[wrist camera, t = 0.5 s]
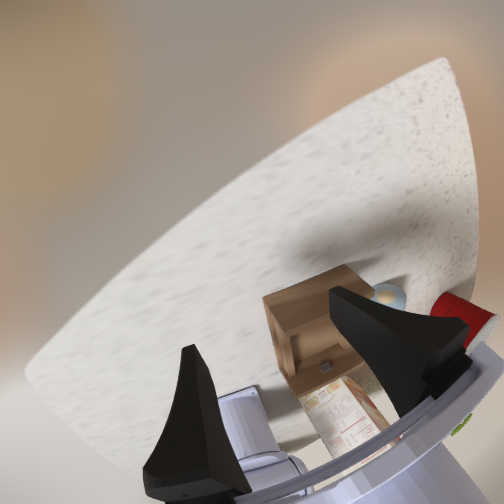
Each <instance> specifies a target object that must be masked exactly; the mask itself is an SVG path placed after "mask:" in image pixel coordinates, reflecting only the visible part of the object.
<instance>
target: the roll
mask: <svg viewBox="0 0 504 504" xmlns="http://www.w3.org/2000/svg"><path fill="white" fill-rule="evenodd" d="M372 288H374V289H375V294H374V297H372V298H370V300H373V301H375V302H378V303H380V304H383V305H386V306H389V307H392V308H395V309H398V310H402V311H404V309H405V304H406V294H405V292H404V291H403V290H402V289H401V288H399V287H398V286H396V285H393V284H387V283H383V284H377V285H375V286H373V287H372Z"/></svg>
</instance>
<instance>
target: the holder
mask: <svg viewBox="0 0 504 504" xmlns="http://www.w3.org/2000/svg"><path fill="white" fill-rule="evenodd" d="M338 285H339V286H341V287H343V288H346V289H348V290H350V291H352V292H354V293H357V294H359V295H361V296H363V297H366V298H368V299H370V298H372V297H374V294H375V289H374V288H372V287H371V286H370V285H369V284H368V283H366V282H365V281H364V280H363V279H362V278H360V277H359V276H358V275H357V274H355V273H354V272H353V271H352V270H351V269H349V268H348V267H347V266H346V265H344V264H343V265H341V266H339V267H336V268H334V269H332V270H329V271H327V272H325V273H322V274H320V275H318V276H315V277H313V278H310V279H308V280H305V281H303V282H300V283H298V284H296V285H293V286H291V287H288V288H286V289H283V290H281V291H278V292H275V293H273V294H270V295H268V296H265V297H263V298H262V299H263V303H264V307H265V311H266V315H267V320H268V324H269V328H270V332H271V336H272V340H273V345H274V349H275V353H276V357H277V361H278V365H279V369H280V371H281V373H282V375H283V376H284V378H285V380H286V382H287V384H288V385H289V387H290V389H291V391H292V392H293V394H294V396H295V398H296V399H299V398H301V397H303V396H305V395H307V394H310V393H312V392H314V391H316V390H318V389H320V388H322V387H324V386H326V385H328V384H330V383H332V382H334V381H336V380H338V379H339V378H341V377H343V376H345V375H347V374H349V373H350V372H352V371H354V370H356V369H358V368H359V367H361V366H363V365H364V364H365V360H364V359H363V358H362V357H361V356H360V355H359V354H358V352H357V351H356V350H355V349H354V348H353V347H352V346H351V345H350V343H349V342H348V341H347V340H346V339H345V338H344V337H343V336H342V334H341V333H340V332H339V331H338V329H337V328H336V326H335V325H334V323H333V322H332V320H331V319H330V310H329V291H328V290H329V289H331V288H333V287H336V286H338Z"/></svg>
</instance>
